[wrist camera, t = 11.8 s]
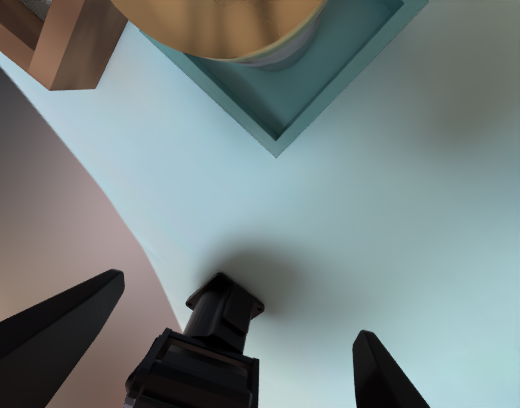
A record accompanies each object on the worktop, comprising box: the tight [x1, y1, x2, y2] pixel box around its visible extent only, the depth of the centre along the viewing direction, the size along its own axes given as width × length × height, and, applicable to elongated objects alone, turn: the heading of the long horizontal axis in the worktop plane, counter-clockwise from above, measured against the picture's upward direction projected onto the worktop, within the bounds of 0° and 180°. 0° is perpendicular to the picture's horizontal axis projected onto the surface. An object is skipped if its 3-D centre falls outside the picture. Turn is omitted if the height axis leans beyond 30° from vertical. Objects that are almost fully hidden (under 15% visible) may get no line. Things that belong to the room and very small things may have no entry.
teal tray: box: [139, 0, 429, 158], centre depth 15 cm, size 11×11×3 cm
